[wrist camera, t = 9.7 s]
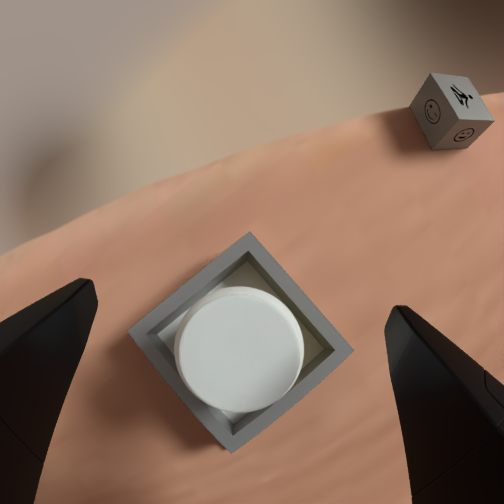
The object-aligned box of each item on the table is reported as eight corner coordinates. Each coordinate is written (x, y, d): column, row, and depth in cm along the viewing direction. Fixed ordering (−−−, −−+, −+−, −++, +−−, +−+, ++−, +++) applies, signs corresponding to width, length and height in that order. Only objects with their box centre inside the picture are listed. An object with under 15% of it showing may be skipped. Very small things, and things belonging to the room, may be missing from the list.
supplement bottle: (181, 362, 19) (128, 382, 10) (221, 287, 20) (203, 243, 11) (259, 402, 18) (273, 456, 9) (298, 326, 20) (347, 316, 10)
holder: (231, 447, 18) (230, 464, 15) (133, 330, 20) (116, 328, 17) (348, 349, 20) (365, 350, 17) (249, 235, 22) (250, 219, 19)
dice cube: (408, 106, 26) (430, 72, 21) (445, 107, 26) (467, 77, 21) (431, 150, 24) (459, 119, 19) (467, 148, 25) (494, 120, 20)
